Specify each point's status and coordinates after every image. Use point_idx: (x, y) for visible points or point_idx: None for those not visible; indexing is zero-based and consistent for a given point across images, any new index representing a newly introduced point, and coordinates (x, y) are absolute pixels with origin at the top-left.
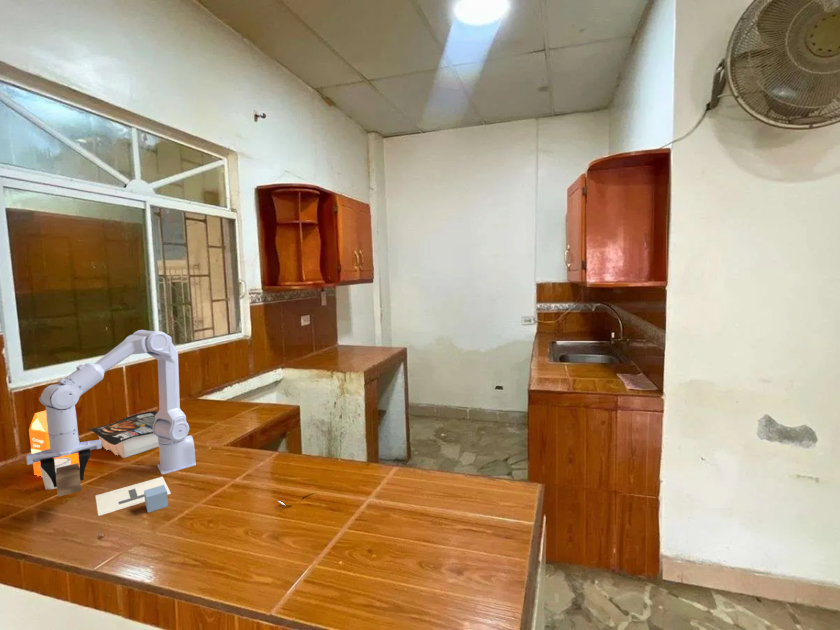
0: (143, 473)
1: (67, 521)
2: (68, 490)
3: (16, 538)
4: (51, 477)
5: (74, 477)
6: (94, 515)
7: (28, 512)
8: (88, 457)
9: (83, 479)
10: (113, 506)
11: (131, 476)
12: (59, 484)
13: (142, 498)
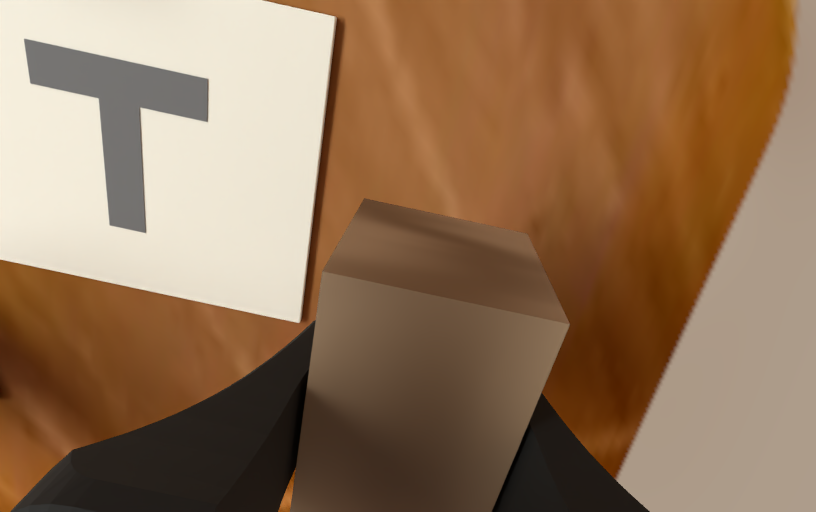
0: (71, 381)
1: (478, 136)
2: (453, 227)
3: (717, 166)
4: (565, 433)
5: (383, 266)
6: (349, 72)
7: (565, 410)
8: (91, 450)
9: (313, 322)
10: (238, 79)
11: (126, 396)
12: (527, 278)
13: (71, 29)
